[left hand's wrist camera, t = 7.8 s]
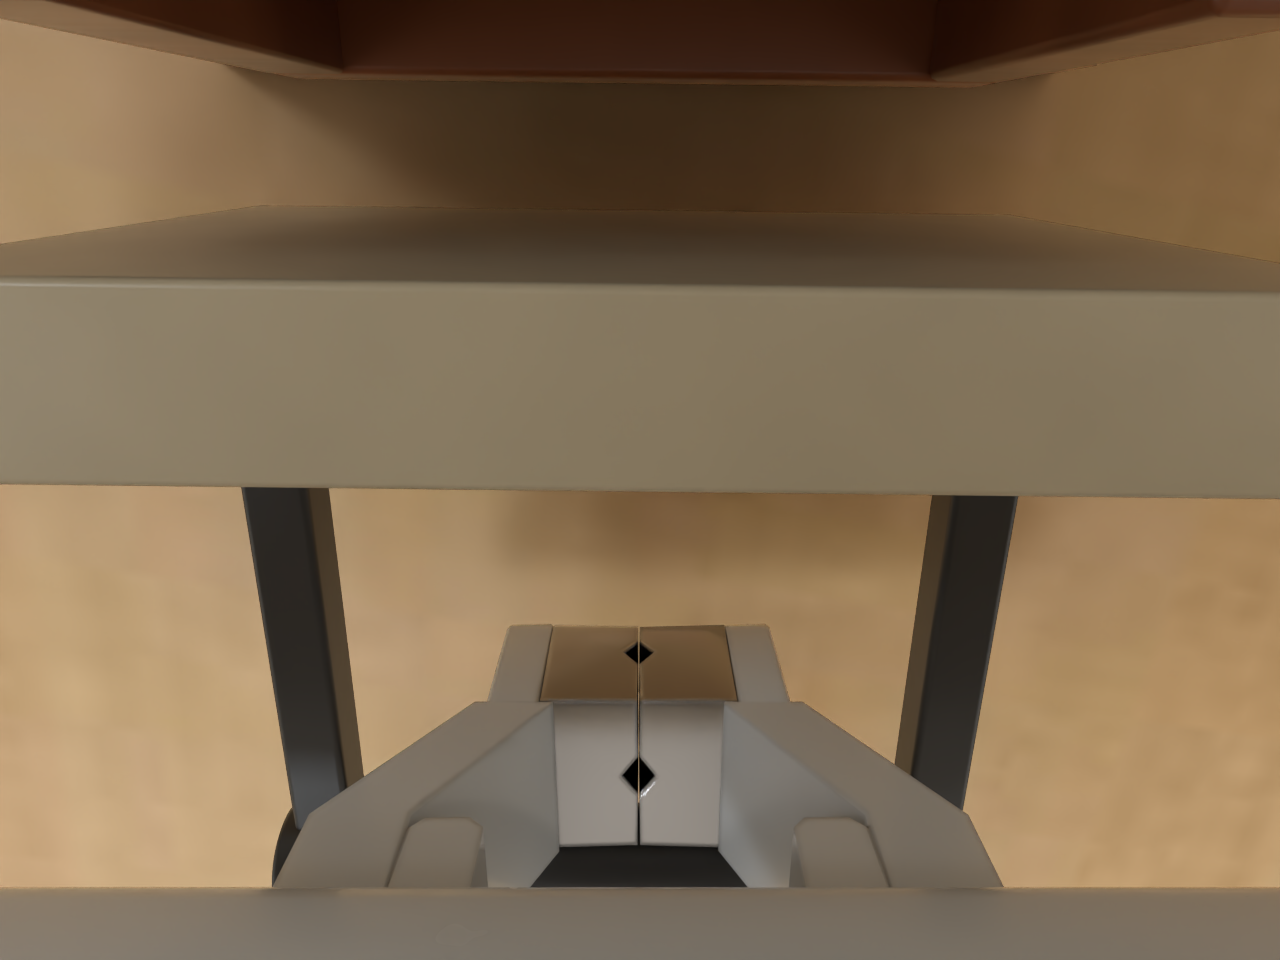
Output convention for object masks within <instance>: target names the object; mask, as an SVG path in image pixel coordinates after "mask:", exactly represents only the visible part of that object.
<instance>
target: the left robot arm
mask: <svg viewBox="0 0 1280 960" xmlns="http://www.w3.org/2000/svg"><path fill="white" fill-rule="evenodd" d="M639 794H640V845H656V846H693V847H718V851H719V852H720V853H721V855H722V856H723V857H724V858H725V860H726V861H727V862H728V863H729V865H730V866H731V867H732V868H733V870H734V871H735V872H736V873H737V875H738V876H739V877H740V878H741V880H742V881H743V882H744V883H745V884H746V886H747V887H531V885H532V884H533V883H534V882H535V881H536V879H537V878H538V877H539V876H540V874H541V873H542V872H543V871H544V870H545V868H546V867H547V866H548V865H549V863H550V862H551V861H552V860H553V858H554V857H555V856H556V855H557V854H558V852H559V847H584V846H619V845H637V837H638V626H586V625H555V626H554V627H553V626H552V624H531V625H511V626H510V627H509V628H508V629H507V632H506V636H505V639H504V643H503V646H502V650H501V653H500V657H499V661H498V664H497V668H496V671H495V675H494V678H493V682H492V686H491V689H490V693H489V696H488V700H487V702H474V703H472V704H471V705H469V706H468V707H466V708H465V709H464V710H462V711H461V712H459V713H458V714H456V715H455V716H453V717H452V718H450V719H449V720H447V721H446V722H444V723H443V724H441V725H440V726H438V727H437V728H435V729H434V730H432V731H431V732H430V733H428V734H427V735H425V736H424V737H422V738H421V739H419V740H418V741H416V742H415V743H413V744H412V745H410V746H409V747H407V748H406V749H404V750H403V751H401V752H400V753H398V754H397V755H395V756H394V757H393V758H391V759H390V760H388V761H387V762H385V763H384V764H382V765H381V766H379V767H378V768H376V769H375V770H373V771H372V772H370V773H369V774H367V775H366V776H364V777H363V778H361V779H360V780H359V781H357V782H356V783H354V784H353V785H351V786H350V787H348V788H347V789H345V790H344V791H342V792H341V793H339V794H338V795H336V796H335V797H333V798H332V799H330V800H329V801H327V802H326V803H324V804H323V805H322V806H320V807H319V808H317V809H316V810H314V811H313V812H311V813H310V814H309V815H308V817H307V819H306V821H305V823H304V825H303V827H302V829H301V831H300V833H299V835H298V837H297V839H296V841H295V843H294V845H293V847H292V849H291V851H290V853H289V855H288V857H287V859H286V861H285V863H284V865H283V867H282V869H281V871H280V873H279V875H278V877H277V879H276V881H275V883H274V885H273V887H0V960H1280V887H1003V885H1002V882H1001V880H1000V878H999V876H998V874H997V872H996V870H995V868H994V866H993V864H992V862H991V860H990V858H989V856H988V854H987V852H986V850H985V848H984V846H983V844H982V842H981V840H980V838H979V836H978V834H977V832H976V830H975V828H974V826H973V824H972V822H971V820H970V818H969V816H968V814H966V813H965V812H963V811H962V810H960V809H959V808H957V807H956V806H954V805H953V804H951V803H950V802H948V801H947V800H946V799H944V798H943V797H941V796H940V795H938V794H937V793H935V792H934V791H932V790H931V789H929V788H928V787H926V786H925V785H924V784H922V783H921V782H919V781H918V780H916V779H915V778H913V777H912V776H910V775H909V774H907V773H906V772H904V771H903V770H902V769H900V768H899V767H897V766H896V765H894V764H893V763H891V762H890V761H888V760H887V759H885V758H884V757H883V756H881V755H880V754H878V753H877V752H875V751H874V750H872V749H871V748H869V747H868V746H866V745H865V744H863V743H862V742H861V741H859V740H858V739H856V738H855V737H853V736H852V735H850V734H849V733H847V732H846V731H844V730H843V729H841V728H840V727H839V726H837V725H836V724H834V723H833V722H831V721H830V720H828V719H827V718H825V717H824V716H822V715H821V714H819V713H818V712H817V711H815V710H814V709H812V708H811V707H809V706H808V705H806V704H805V703H803V702H790V699H789V696H788V692H787V688H786V685H785V681H784V678H783V674H782V671H781V667H780V663H779V660H778V656H777V653H776V649H775V645H774V642H773V638H772V635H771V631H770V627H769V626H767V625H766V624H750V625H727V626H724V625H704V626H663V627H640V651H639Z"/></svg>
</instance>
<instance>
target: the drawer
mask: <svg viewBox="0 0 1280 960" xmlns="http://www.w3.org/2000/svg"><path fill="white" fill-rule="evenodd" d="M0 19H5V20H10V21H15V22H20V23H25V24H29V25H34V26H39V27H44V28H49V29H54V30H59V31H64V32H69V33H74V34H79V35H84V36H88V37H93V38H98V39H103V40H108V41H113V42H118V43H123V44H128V45H133V46H138V47H143V48H147V49H152V50H157V51H162V52H167V53H172V54H177V55H182V56H187V57H192V58H197V59H202V60H206V61H211V62H216V63H221V64H226V65H231V66H236V67H241V68H246V69H251V70H256V71H261V72H265V73H276V74H279V75H284V76H288V77H293V78H298V79H346V80H424V81H502V82H579V83H657V84H735V85H812V86H890V87H967V88H972V87H977V86H983V85H988V84H994V83H996V82H1004V81H1009V80H1015V79H1020V78H1025V77H1031V76H1036V75H1041V74H1047V73H1052V72H1058V71H1063V70H1068V69H1074V68H1079V67H1084V66H1090V65H1095V64H1101V63H1106V62H1111V61H1117V60H1122V59H1127V58H1133V57H1138V56H1143V55H1149V54H1154V53H1160V52H1165V51H1170V50H1176V49H1181V48H1186V47H1192V46H1197V45H1203V44H1208V43H1213V42H1219V41H1224V40H1229V39H1235V38H1240V37H1245V36H1251V35H1256V34H1262V33H1267V32H1272V31H1278V30H1280V0H0ZM0 484H26V485H112V486H197V487H241V488H242V494H243V501H244V507H245V513H246V519H247V526H248V532H249V538H250V544H251V551H252V557H253V563H254V569H255V576H256V582H257V588H258V595H259V601H260V607H261V613H262V620H263V626H264V632H265V638H266V645H267V651H268V657H269V663H270V670H271V676H272V682H273V688H274V695H275V701H276V707H277V713H278V720H279V726H280V732H281V739H282V745H283V751H284V757H285V764H286V770H287V776H288V782H289V789H290V795H291V801H292V808H291V810H290V811H289V813H288V814H287V816H286V819H285V821H284V823H283V826H282V828H281V831H280V834H279V838H278V841H277V845H276V850H275V855H274V861H273V870H272V887H273V885H274V883H275V881H276V879H277V877H278V875H279V873H280V871H281V869H282V867H283V865H284V863H285V861H286V859H287V857H288V855H289V853H290V851H291V849H292V847H293V845H294V843H295V841H296V839H297V837H298V835H299V833H300V831H301V829H302V827H303V825H304V823H305V821H306V819H307V817H308V815H309V814H310V813H311V812H313V811H314V810H316V809H317V808H319V807H320V806H322V805H323V804H324V803H326V802H327V801H329V800H330V799H332V798H333V797H335V796H336V795H338V794H339V793H341V792H342V791H344V790H345V789H347V788H348V787H350V786H351V785H353V784H354V783H356V782H357V781H359V780H360V779H361V778H363V777H364V774H363V766H362V758H361V750H360V741H359V733H358V725H357V717H356V709H355V700H354V692H353V684H352V676H351V668H350V659H349V651H348V643H347V635H346V627H345V618H344V610H343V602H342V594H341V586H340V577H339V569H338V561H337V553H336V545H335V536H334V528H333V520H332V512H331V504H330V496H329V488H369V489H455V490H541V491H627V492H713V493H799V494H885V495H932V501H931V508H930V515H929V522H928V529H927V536H926V544H925V551H924V558H923V565H922V572H921V579H920V587H919V594H918V601H917V608H916V615H915V622H914V630H913V637H912V644H911V651H910V658H909V665H908V672H907V680H906V687H905V694H904V701H903V708H902V715H901V723H900V730H899V737H898V744H897V751H896V758H895V765H896V766H897V767H899V768H900V769H902V770H903V771H904V772H906V773H907V774H909V775H910V776H912V777H913V778H915V779H916V780H918V781H919V782H921V783H922V784H924V785H925V786H926V787H928V788H929V789H931V790H932V791H934V792H935V793H937V794H938V795H940V796H941V797H943V798H944V799H946V800H947V801H948V802H950V803H951V804H953V805H954V806H956V807H957V808H959V809H960V810H962V811H963V805H964V800H965V794H966V788H967V783H968V777H969V771H970V766H971V760H972V754H973V749H974V743H975V737H976V732H977V726H978V720H979V715H980V709H981V703H982V698H983V692H984V687H985V681H986V675H987V670H988V664H989V658H990V653H991V647H992V641H993V636H994V630H995V624H996V619H997V613H998V607H999V602H1000V596H1001V590H1002V585H1003V579H1004V574H1005V568H1006V562H1007V557H1008V551H1009V545H1010V540H1011V534H1012V528H1013V523H1014V517H1015V511H1016V506H1017V500H1018V496H1057V497H1143V498H1229V499H1280V263H1275V262H1270V261H1264V260H1258V259H1253V258H1247V257H1242V256H1236V255H1230V254H1225V253H1219V252H1214V251H1208V250H1203V249H1197V248H1191V247H1186V246H1180V245H1175V244H1169V243H1164V242H1158V241H1152V240H1147V239H1141V238H1136V237H1130V236H1124V235H1119V234H1113V233H1108V232H1102V231H1097V230H1091V229H1085V228H1080V227H1074V226H1069V225H1063V224H1057V223H1052V222H1046V221H1041V220H1035V219H1030V218H1024V217H1018V216H1013V215H974V214H894V213H814V212H734V211H653V210H573V209H493V208H413V207H333V206H254V207H247V208H240V209H234V210H227V211H220V212H213V213H207V214H200V215H193V216H186V217H180V218H173V219H166V220H159V221H153V222H146V223H139V224H132V225H126V226H119V227H112V228H105V229H99V230H92V231H85V232H79V233H72V234H65V235H58V236H52V237H45V238H38V239H31V240H25V241H18V242H11V243H4V244H0ZM531 887H747V886H746V884H745V883H744V882H743V881H742V880H741V878H740V877H739V876H738V875H737V873H736V872H735V871H734V870H733V868H732V867H731V866H730V865H729V863H728V862H727V861H726V860H725V858H724V857H723V856H722V855H721V853H720V852H719V851H718V847H693V846H656V845H640V803H638V837H637V845H619V846H584V847H559V852H558V854H557V855H556V856H555V857H554V858H553V860H552V861H551V862H550V863H549V865H548V866H547V867H546V868H545V870H544V871H543V872H542V873H541V874H540V876H539V877H538V878H537V879H536V881H535V882H534V883H533V884H532V885H531Z"/></svg>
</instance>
